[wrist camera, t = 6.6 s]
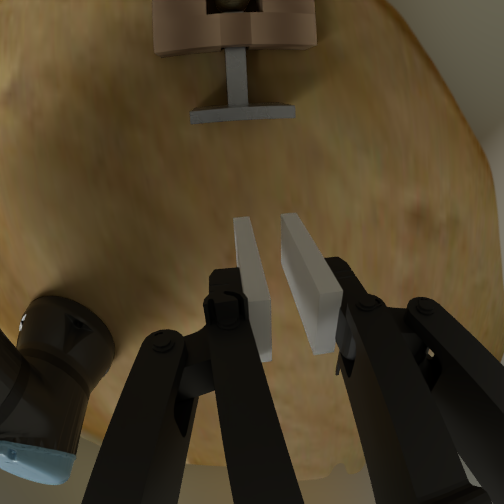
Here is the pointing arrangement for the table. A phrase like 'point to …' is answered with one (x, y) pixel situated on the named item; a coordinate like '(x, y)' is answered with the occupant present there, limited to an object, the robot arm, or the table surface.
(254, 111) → the grey t-shaped plug
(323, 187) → the table surface
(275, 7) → the socket block
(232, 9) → the peg
